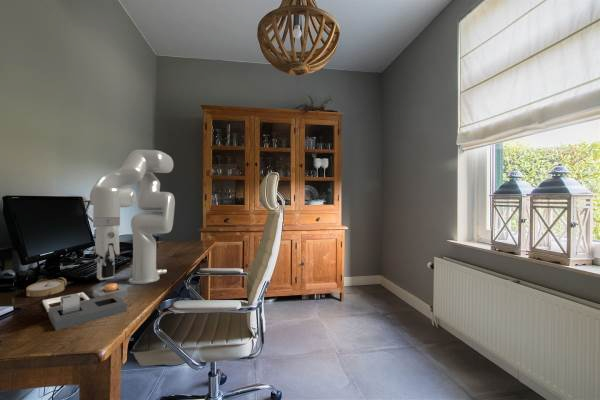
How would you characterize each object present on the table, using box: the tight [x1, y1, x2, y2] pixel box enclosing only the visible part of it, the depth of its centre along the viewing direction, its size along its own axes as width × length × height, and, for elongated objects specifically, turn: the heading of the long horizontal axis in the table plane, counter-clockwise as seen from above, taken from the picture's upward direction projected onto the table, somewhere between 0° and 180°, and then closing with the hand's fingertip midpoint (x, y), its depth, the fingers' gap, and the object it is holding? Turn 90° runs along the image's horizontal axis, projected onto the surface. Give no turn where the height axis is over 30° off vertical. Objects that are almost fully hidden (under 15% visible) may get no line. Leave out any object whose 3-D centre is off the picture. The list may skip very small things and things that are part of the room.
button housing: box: [93, 284, 129, 299], centre depth 105 cm, size 9×9×3 cm
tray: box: [42, 291, 90, 313], centre depth 98 cm, size 12×12×2 cm
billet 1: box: [60, 293, 81, 316], centre depth 86 cm, size 4×4×7 cm
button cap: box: [104, 282, 118, 293], centre depth 105 cm, size 4×4×2 cm
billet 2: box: [96, 256, 116, 281], centre depth 93 cm, size 4×4×7 cm
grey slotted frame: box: [48, 294, 128, 331], centre depth 89 cm, size 18×14×3 cm
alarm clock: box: [25, 277, 68, 298], centre depth 111 cm, size 11×5×15 cm
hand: (105, 275), depth 93 cm, fingers closed on billet 2, 4 cm apart
